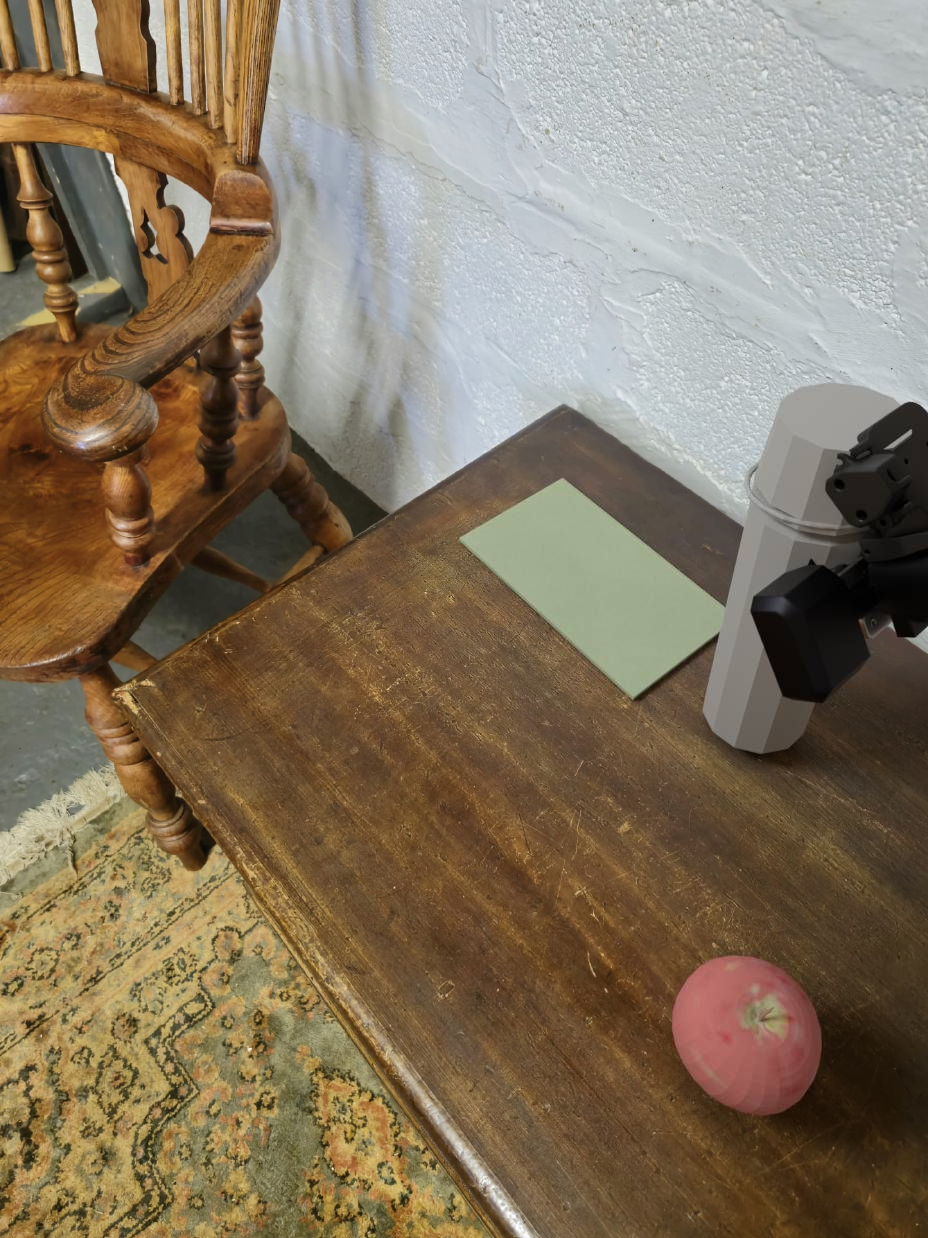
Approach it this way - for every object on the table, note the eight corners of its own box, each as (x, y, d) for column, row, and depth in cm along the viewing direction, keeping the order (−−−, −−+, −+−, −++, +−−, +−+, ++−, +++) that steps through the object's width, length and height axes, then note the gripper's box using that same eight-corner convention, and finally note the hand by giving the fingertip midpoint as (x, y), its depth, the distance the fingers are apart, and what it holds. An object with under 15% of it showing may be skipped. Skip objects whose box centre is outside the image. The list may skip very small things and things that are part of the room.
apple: (687, 954, 51) (725, 909, 45) (805, 1024, 49) (863, 988, 43) (636, 1070, 47) (670, 1039, 41) (762, 1152, 45) (818, 1133, 39)
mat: (736, 620, 67) (738, 617, 67) (632, 700, 62) (633, 697, 62) (562, 480, 76) (562, 477, 76) (459, 540, 71) (459, 537, 71)
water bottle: (819, 762, 58) (947, 458, 40) (702, 759, 59) (776, 459, 41) (793, 661, 64) (893, 360, 46) (687, 659, 65) (746, 362, 47)
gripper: (1080, 332, 42) (813, 398, 55) (864, 492, 34) (615, 524, 48) (1130, 534, 44) (864, 550, 58) (941, 726, 37) (685, 692, 50)
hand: (765, 573), depth 54 cm, fingers closed
